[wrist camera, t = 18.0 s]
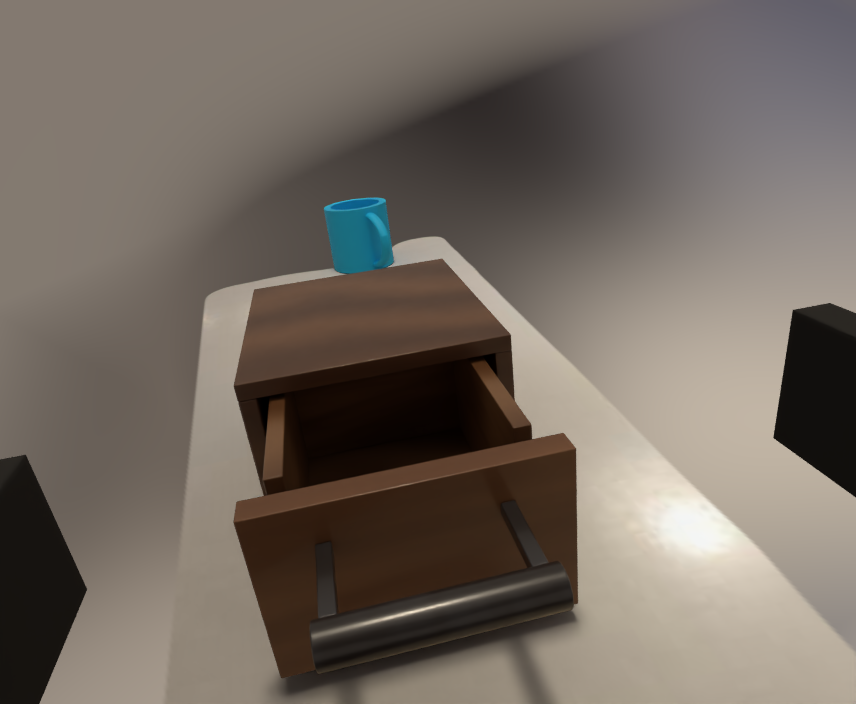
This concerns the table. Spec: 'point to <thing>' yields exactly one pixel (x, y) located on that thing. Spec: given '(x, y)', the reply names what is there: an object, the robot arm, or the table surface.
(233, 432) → the table surface
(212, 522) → the table surface
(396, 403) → the drawer
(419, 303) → the cabinet
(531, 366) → the table surface
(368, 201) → the mug
